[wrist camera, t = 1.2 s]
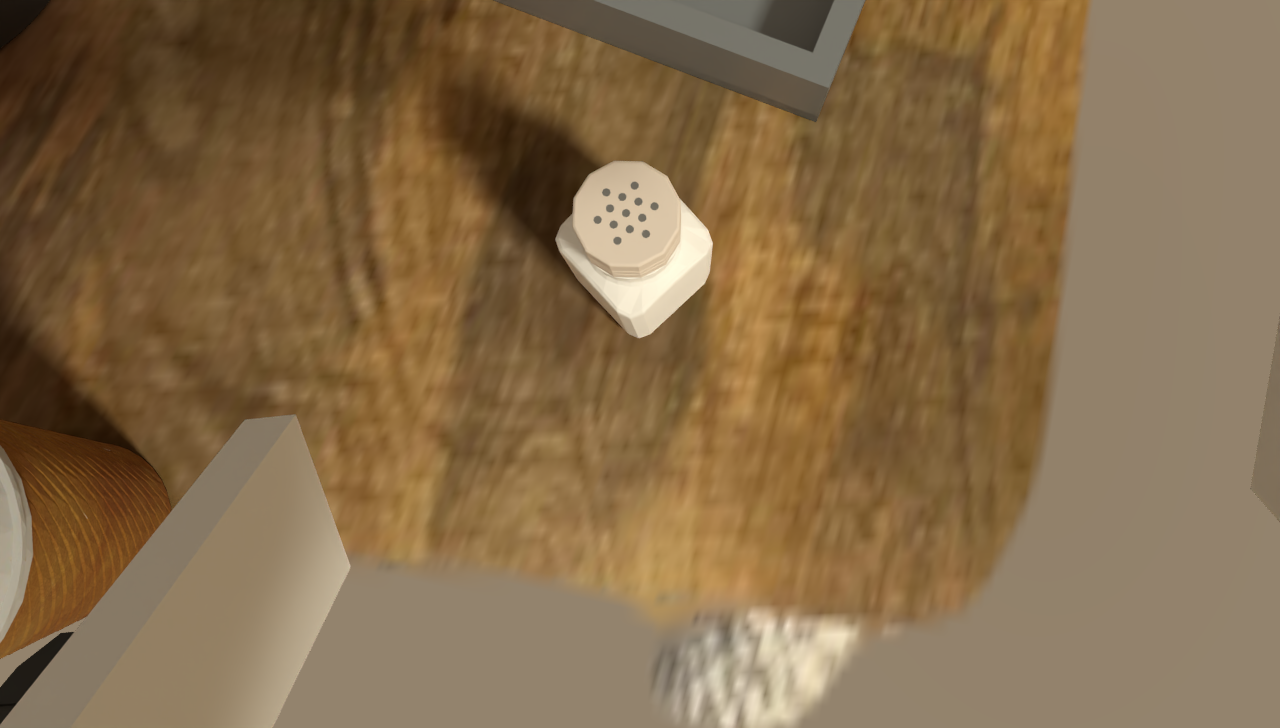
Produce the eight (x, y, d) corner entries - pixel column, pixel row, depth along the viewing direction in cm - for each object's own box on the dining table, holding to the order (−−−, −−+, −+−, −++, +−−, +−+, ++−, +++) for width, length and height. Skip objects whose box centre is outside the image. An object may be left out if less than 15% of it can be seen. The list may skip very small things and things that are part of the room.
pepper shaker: (715, 275, 37) (724, 215, 28) (639, 346, 37) (622, 310, 27) (644, 201, 37) (629, 117, 28) (569, 271, 37) (528, 210, 28)
